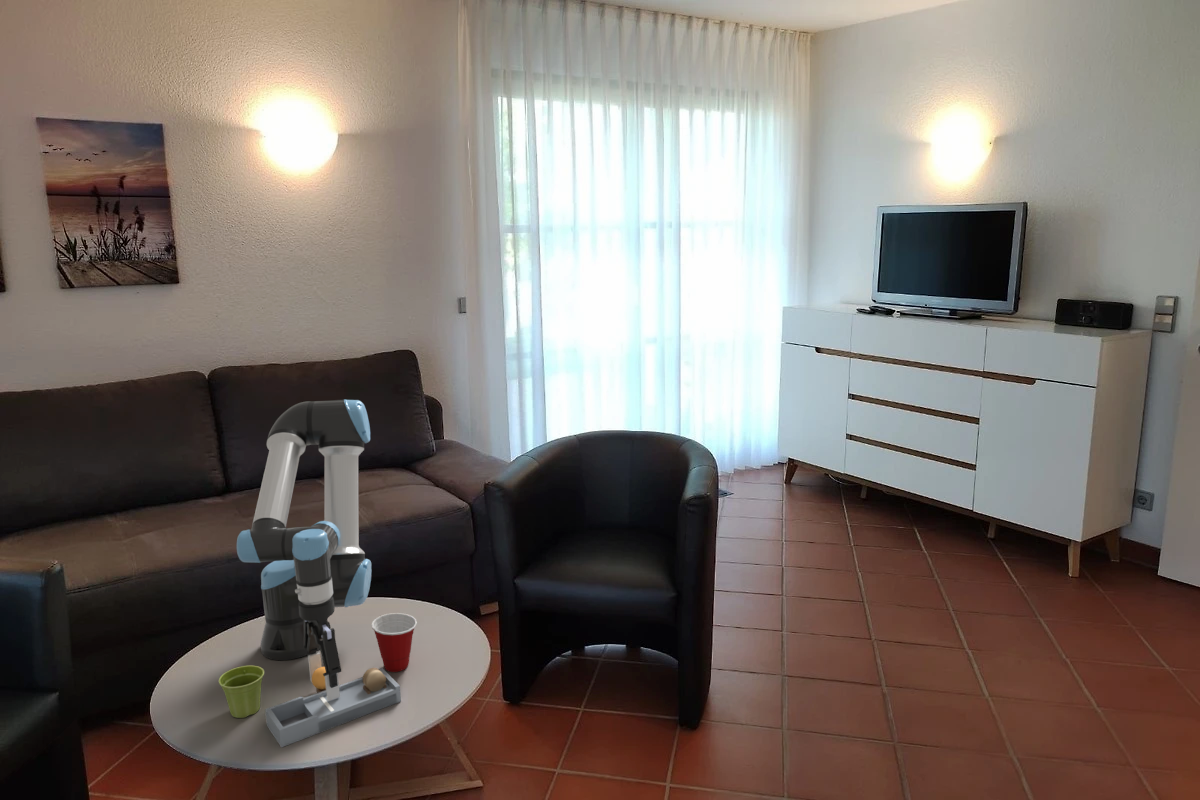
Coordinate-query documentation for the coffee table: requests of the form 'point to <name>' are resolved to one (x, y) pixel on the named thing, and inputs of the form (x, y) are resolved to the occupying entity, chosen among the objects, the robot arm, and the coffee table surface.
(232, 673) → the plant pot
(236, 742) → the coffee table surface
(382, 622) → the plastic cup
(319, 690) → the small wooden crate
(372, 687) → the block
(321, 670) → the ball
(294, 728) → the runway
